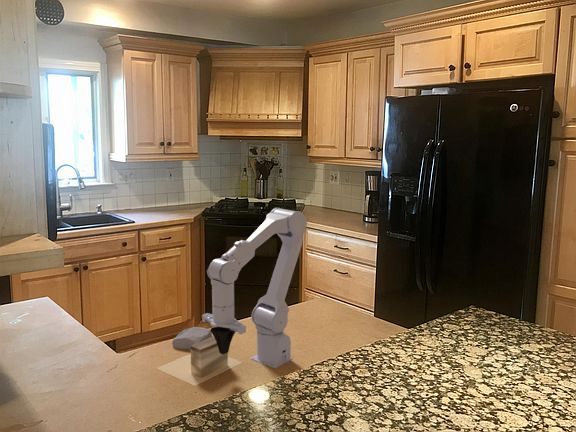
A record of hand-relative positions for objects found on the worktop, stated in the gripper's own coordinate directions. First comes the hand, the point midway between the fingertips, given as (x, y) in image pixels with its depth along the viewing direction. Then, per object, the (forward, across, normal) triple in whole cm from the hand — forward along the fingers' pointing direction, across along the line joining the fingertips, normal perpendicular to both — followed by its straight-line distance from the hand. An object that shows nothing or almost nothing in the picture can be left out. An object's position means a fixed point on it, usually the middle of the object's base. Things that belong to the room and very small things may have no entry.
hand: (224, 352), depth 143 cm
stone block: (+7, -24, +10) cm, 27 cm away
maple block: (+6, -6, 0) cm, 9 cm away
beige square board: (+7, -10, 0) cm, 12 cm away
